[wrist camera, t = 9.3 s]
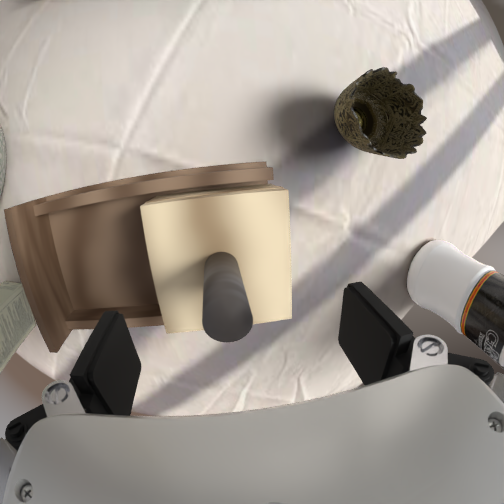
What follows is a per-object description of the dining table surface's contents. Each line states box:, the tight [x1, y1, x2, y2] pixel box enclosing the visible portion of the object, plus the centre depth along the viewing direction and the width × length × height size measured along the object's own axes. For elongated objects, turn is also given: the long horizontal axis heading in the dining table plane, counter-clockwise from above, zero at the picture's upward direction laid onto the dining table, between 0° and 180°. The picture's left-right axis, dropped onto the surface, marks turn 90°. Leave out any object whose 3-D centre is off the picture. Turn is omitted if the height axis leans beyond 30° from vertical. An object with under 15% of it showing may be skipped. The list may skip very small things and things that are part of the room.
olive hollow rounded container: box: [334, 67, 427, 159], centre depth 20 cm, size 8×7×8 cm
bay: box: [4, 162, 273, 353], centre depth 22 cm, size 23×14×7 cm, turn 94°
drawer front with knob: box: [140, 184, 292, 342], centre depth 19 cm, size 10×10×13 cm
